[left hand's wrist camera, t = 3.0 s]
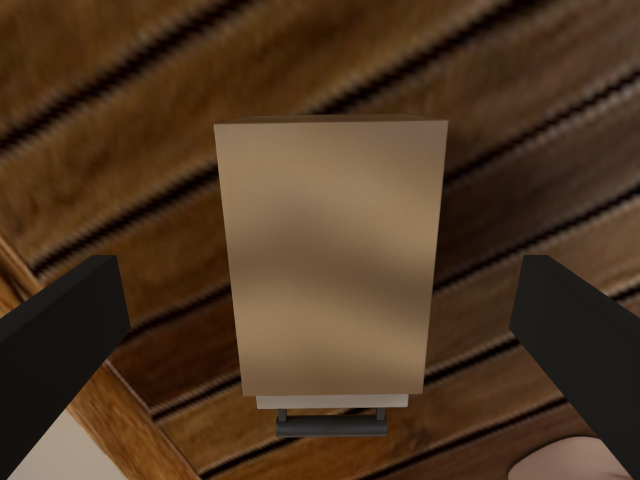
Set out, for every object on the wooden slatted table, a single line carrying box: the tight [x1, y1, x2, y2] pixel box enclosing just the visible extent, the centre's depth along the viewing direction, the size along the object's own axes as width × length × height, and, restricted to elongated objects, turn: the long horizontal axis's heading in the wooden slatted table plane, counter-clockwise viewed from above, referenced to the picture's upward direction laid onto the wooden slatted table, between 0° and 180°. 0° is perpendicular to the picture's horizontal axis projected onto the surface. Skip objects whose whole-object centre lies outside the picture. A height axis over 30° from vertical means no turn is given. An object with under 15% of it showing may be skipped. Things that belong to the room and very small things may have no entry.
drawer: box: [256, 394, 409, 437], centre depth 27 cm, size 21×10×7 cm, turn 1°
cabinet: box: [214, 113, 449, 396], centre depth 25 cm, size 16×11×9 cm
